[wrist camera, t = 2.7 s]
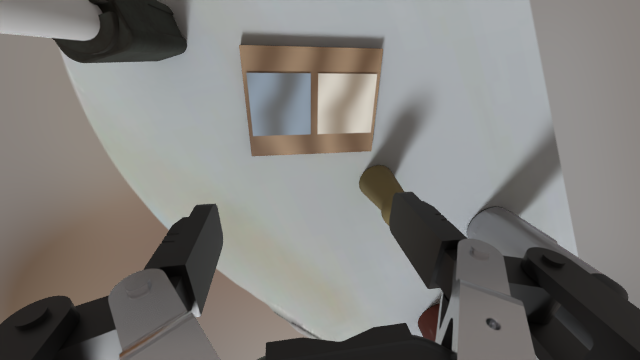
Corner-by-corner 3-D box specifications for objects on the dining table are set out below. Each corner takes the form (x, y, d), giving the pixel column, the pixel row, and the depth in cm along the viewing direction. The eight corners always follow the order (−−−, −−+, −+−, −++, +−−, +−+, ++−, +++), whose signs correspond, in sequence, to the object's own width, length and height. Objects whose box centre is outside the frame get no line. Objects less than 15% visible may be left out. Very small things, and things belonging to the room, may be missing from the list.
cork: (360, 166, 40) (388, 200, 30) (395, 164, 41) (432, 196, 31) (357, 197, 43) (382, 238, 33) (390, 195, 44) (423, 234, 34)
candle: (190, 50, 29) (-60, 29, 7) (149, 63, 29) (-231, 81, 7) (167, 0, 27) (-314, -258, 5) (122, 14, 27) (-576, -188, 5)
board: (379, 49, 33) (383, 48, 32) (368, 148, 39) (371, 151, 38) (240, 45, 30) (238, 44, 29) (252, 153, 36) (251, 156, 35)
